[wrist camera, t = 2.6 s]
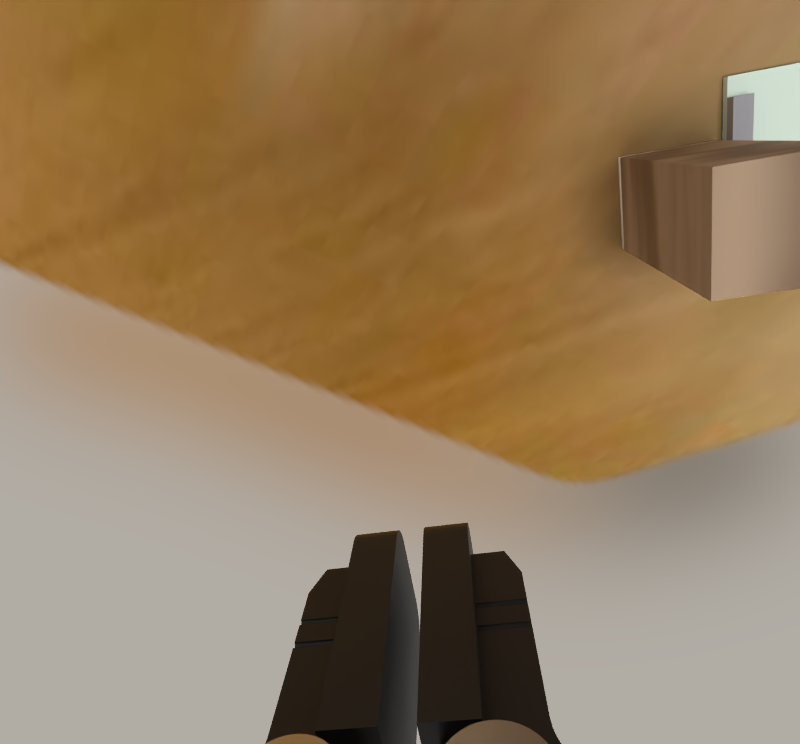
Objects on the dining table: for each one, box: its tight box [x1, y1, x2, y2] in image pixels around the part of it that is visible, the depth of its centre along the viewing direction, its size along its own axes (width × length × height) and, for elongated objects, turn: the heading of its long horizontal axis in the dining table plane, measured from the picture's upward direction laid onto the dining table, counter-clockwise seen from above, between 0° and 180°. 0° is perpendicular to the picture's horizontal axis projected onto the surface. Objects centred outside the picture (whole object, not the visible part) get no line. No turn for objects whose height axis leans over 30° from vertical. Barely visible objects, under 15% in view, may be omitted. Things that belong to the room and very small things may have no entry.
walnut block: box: [618, 140, 800, 301], centre depth 27 cm, size 5×5×12 cm
